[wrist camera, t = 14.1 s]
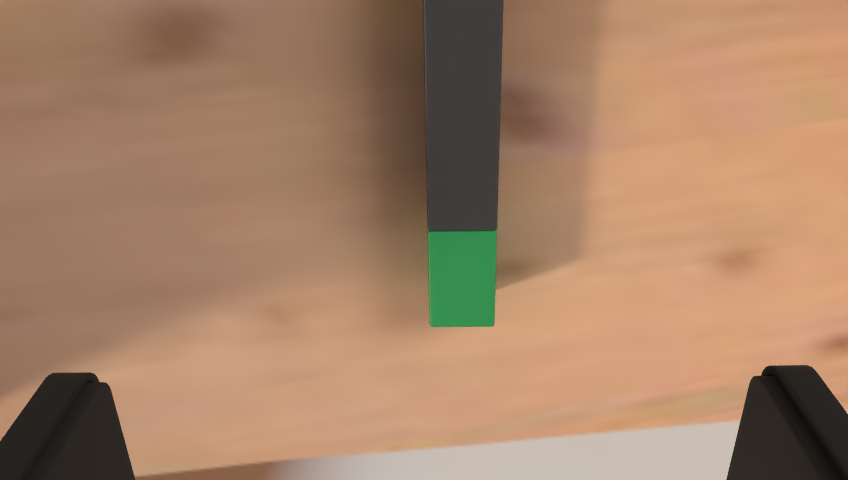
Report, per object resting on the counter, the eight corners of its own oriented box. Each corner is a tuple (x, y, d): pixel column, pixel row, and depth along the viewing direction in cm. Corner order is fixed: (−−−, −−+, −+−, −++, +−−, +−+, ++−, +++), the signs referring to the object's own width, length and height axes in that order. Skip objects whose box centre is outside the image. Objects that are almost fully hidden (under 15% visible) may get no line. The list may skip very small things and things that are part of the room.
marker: (423, -88, 23) (421, -82, 21) (499, -90, 23) (505, -84, 21) (430, 293, 30) (429, 327, 28) (490, 293, 30) (494, 327, 28)
